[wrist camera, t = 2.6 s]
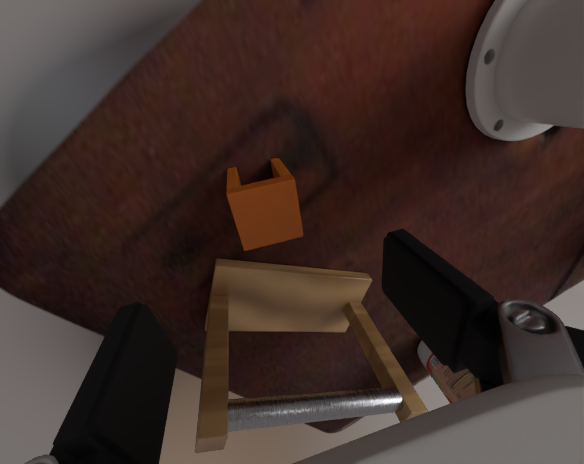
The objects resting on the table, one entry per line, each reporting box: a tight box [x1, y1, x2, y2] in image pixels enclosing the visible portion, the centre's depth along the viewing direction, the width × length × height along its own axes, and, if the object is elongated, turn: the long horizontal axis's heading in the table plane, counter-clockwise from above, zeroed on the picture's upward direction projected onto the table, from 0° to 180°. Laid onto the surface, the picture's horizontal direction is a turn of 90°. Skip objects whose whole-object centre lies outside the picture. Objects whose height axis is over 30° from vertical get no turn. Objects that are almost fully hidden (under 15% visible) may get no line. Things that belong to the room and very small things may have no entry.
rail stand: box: [195, 258, 428, 453], centre depth 21 cm, size 8×16×12 cm, turn 74°
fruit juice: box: [417, 340, 476, 403], centre depth 26 cm, size 9×9×28 cm
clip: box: [227, 158, 303, 251], centre depth 17 cm, size 4×4×6 cm
